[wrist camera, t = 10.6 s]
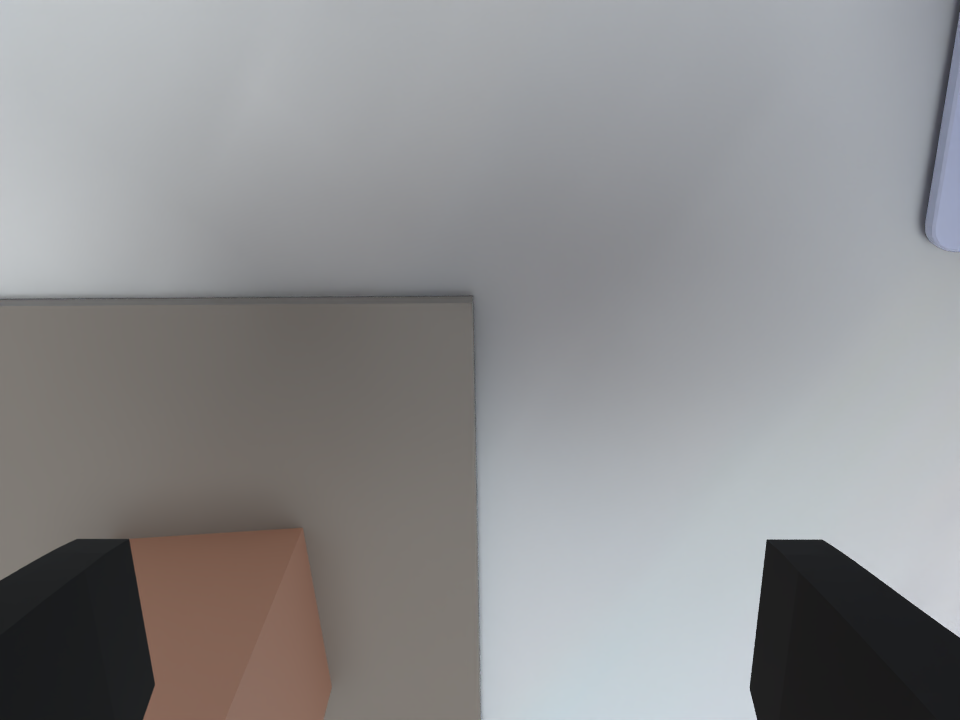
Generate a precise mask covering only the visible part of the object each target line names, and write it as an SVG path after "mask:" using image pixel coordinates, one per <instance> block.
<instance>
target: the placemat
mask: <svg viewBox="0 0 960 720" xmlns="http://www.w3.org/2000/svg"><path fill="white" fill-rule="evenodd" d="M290 528H303V531H304V537H305V542H306V548H307V553H308V559H309V564H310V570H311V575H312V581H313V586H314V592H315V597H316V603H317V608H318V614H319V619H320V625H321V630H322V636H323V641H324V647H325V652H326V658H327V663H328V669H329V674H330V680H331V685H332V689H331V693H330V696H329V700H328V704H327V708H326V712H325V716H324V719H323V720H481V703H480V648H479V593H478V538H477V483H476V428H475V373H474V318H473V296H423V297H278V298H132V299H0V580H2V579H4V578H5V577H7V576H9V575H10V574H12V573H14V572H16V571H17V570H19V569H21V568H22V567H24V566H26V565H28V564H29V563H31V562H33V561H35V560H36V559H38V558H40V557H42V556H44V555H45V554H47V553H49V552H51V551H53V550H55V549H57V548H59V547H61V546H63V545H65V544H67V543H69V542H71V541H73V540H75V539H134V538H150V537H165V536H181V535H196V534H212V533H228V532H243V531H259V530H275V529H290Z"/></svg>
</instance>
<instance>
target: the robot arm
mask: <svg viewBox="0 0 960 720" xmlns="http://www.w3.org/2000/svg"><path fill="white" fill-rule="evenodd" d="M925 233H926V235H927V237H928V239H929V241H930V242H931V243H933V244H934V245H936V246H937V247H939V248H941V249H943V250H946V251H952V252H960V14H959V20H958V26H957V32H956V38H955V44H954V50H953V56H952V63H951V69H950V75H949V81H948V87H947V93H946V99H945V105H944V111H943V118H942V124H941V130H940V136H939V142H938V148H937V154H936V160H935V166H934V172H933V179H932V185H931V191H930V197H929V203H928V209H927V215H926V221H925ZM154 687H155V681H154V675H153V670H152V664H151V658H150V653H149V647H148V642H147V636H146V630H145V625H144V619H143V614H142V608H141V602H140V597H139V591H138V586H137V580H136V574H135V569H134V563H133V557H132V552H131V546H130V541H129V539H75V540H73V541H71V542H69V543H67V544H65V545H63V546H61V547H59V548H57V549H55V550H53V551H51V552H49V553H47V554H45V555H44V556H42V557H40V558H38V559H36V560H35V561H33V562H31V563H29V564H28V565H26V566H24V567H22V568H21V569H19V570H17V571H16V572H14V573H12V574H10V575H9V576H7V577H5V578H4V579H2V580H0V720H143V718H144V715H145V712H146V710H147V707H148V704H149V701H150V698H151V695H152V692H153V689H154ZM750 692H751V696H752V700H753V704H754V708H755V712H756V716H757V720H960V638H959V637H958V636H956V635H955V634H954V633H952V632H951V631H949V630H948V629H947V628H945V627H944V626H942V625H941V624H940V623H938V622H937V621H935V620H934V619H933V618H931V617H930V616H929V615H927V614H926V613H924V612H923V611H922V610H920V609H919V608H918V607H916V606H915V605H913V604H912V603H911V602H909V601H908V600H907V599H905V598H904V597H902V596H901V595H900V594H898V593H897V592H896V591H894V590H893V589H892V588H890V587H889V586H888V585H886V584H885V583H883V582H882V581H881V580H879V579H878V578H877V577H875V576H874V575H873V574H871V573H870V572H868V571H867V570H866V569H864V568H863V567H862V566H860V565H859V564H857V563H856V562H855V561H853V560H852V559H850V558H849V557H848V556H846V555H845V554H843V553H842V552H840V551H839V550H838V549H836V548H835V547H833V546H831V545H830V544H828V543H827V542H825V541H824V540H767V542H766V551H765V559H764V568H763V577H762V586H761V594H760V603H759V612H758V620H757V629H756V638H755V647H754V655H753V664H752V673H751V681H750Z"/></svg>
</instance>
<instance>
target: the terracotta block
mask: <svg viewBox="0 0 960 720" xmlns="http://www.w3.org/2000/svg"><path fill="white" fill-rule="evenodd" d="M129 541H130V546H131V552H132V557H133V563H134V569H135V574H136V580H137V586H138V591H139V597H140V602H141V608H142V614H143V619H144V625H145V630H146V636H147V642H148V647H149V653H150V658H151V664H152V670H153V675H154V681H155V687H154V689H153V692H152V695H151V698H150V701H149V704H148V707H147V710H146V712H145V715H144V718H143V720H323V719H324V716H325V712H326V708H327V704H328V700H329V696H330V693H331V689H332V685H331V680H330V674H329V669H328V663H327V658H326V652H325V647H324V641H323V636H322V630H321V625H320V619H319V614H318V608H317V603H316V597H315V592H314V586H313V581H312V575H311V570H310V564H309V559H308V553H307V548H306V542H305V537H304V531H303V528H290V529H275V530H259V531H243V532H228V533H212V534H196V535H181V536H165V537H150V538H134V539H129Z"/></svg>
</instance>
